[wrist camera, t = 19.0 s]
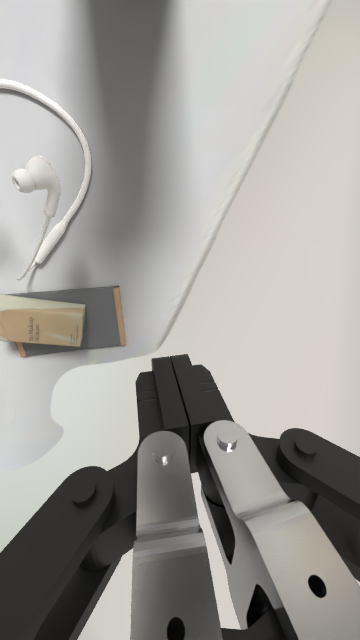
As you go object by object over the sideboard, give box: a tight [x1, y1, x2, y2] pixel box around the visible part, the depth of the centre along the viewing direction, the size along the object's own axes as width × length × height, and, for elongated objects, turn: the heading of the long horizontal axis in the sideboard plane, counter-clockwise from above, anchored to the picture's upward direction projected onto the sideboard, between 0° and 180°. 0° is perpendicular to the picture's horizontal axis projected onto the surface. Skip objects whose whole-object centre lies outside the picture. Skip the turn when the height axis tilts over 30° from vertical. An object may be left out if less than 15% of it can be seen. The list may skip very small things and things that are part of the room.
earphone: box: [0, 79, 91, 280], centre depth 27 cm, size 14×17×18 cm
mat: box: [6, 286, 126, 357], centre depth 39 cm, size 10×16×1 cm, turn 90°
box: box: [0, 294, 86, 347], centre depth 35 cm, size 5×4×11 cm
